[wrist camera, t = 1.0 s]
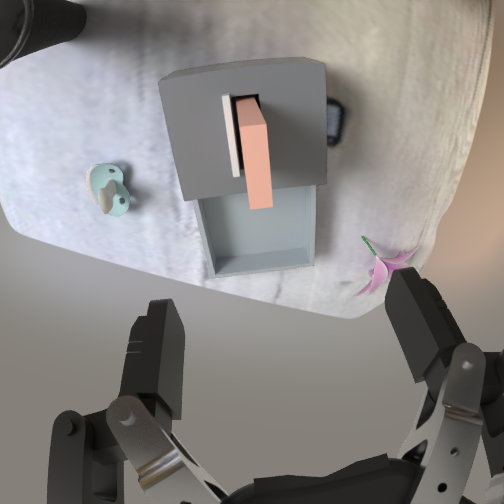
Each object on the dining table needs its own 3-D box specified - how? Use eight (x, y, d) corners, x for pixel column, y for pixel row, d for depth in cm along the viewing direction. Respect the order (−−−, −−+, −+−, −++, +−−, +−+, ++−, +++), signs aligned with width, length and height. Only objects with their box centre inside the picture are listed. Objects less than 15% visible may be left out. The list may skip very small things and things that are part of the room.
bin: (307, 165, 36) (316, 179, 33) (307, 247, 45) (313, 265, 42) (194, 179, 37) (190, 194, 33) (212, 259, 45) (211, 278, 42)
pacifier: (98, 210, 38) (136, 204, 38) (81, 238, 33) (123, 232, 33) (81, 163, 34) (121, 153, 33) (59, 187, 29) (102, 176, 29)
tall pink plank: (250, 90, 27) (266, 124, 17) (256, 144, 31) (273, 207, 21) (234, 92, 27) (239, 126, 17) (241, 146, 31) (250, 209, 21)
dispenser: (303, 57, 28) (327, 63, 21) (307, 154, 35) (328, 187, 29) (173, 71, 28) (155, 82, 21) (191, 168, 36) (183, 205, 29)
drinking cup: (110, 19, 23) (-9, 20, 7) (62, 64, 25) (-62, 117, 9) (77, -20, 18) (-46, -34, 3) (32, 27, 20) (-96, 57, 5)
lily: (329, 273, 50) (362, 320, 46) (334, 240, 40) (377, 298, 35) (383, 238, 51) (416, 280, 47) (398, 200, 41) (440, 249, 36)
